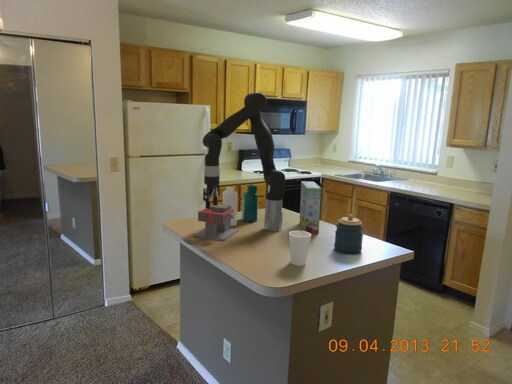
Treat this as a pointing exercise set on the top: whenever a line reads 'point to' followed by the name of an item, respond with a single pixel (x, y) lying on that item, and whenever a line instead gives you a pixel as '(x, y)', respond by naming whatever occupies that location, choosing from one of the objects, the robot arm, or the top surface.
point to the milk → (231, 202)
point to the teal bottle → (250, 204)
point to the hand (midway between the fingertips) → (211, 206)
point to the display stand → (218, 225)
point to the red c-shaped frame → (213, 216)
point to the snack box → (310, 207)
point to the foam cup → (299, 247)
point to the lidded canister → (348, 235)
